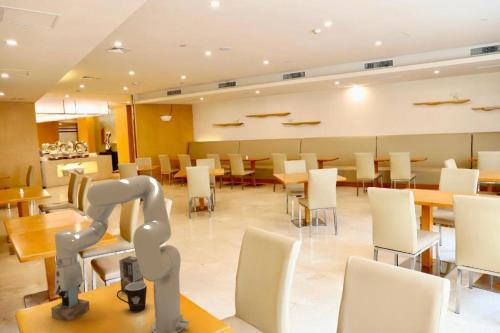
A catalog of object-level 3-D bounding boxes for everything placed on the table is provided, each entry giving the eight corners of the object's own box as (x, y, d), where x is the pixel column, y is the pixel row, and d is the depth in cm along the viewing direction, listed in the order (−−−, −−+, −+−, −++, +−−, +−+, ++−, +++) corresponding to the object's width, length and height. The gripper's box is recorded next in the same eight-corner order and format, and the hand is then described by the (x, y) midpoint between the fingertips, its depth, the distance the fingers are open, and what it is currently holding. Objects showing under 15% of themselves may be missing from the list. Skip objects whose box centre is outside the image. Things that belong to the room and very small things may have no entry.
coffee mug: (151, 304, 158) (150, 282, 157) (140, 314, 150) (139, 291, 149) (128, 302, 162) (127, 280, 161) (116, 311, 153) (114, 288, 152)
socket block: (89, 310, 155) (88, 301, 155) (69, 321, 146) (69, 312, 146) (72, 306, 159) (71, 297, 159) (51, 317, 150) (51, 307, 149)
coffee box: (144, 292, 171) (143, 258, 170) (134, 297, 166) (132, 263, 164) (131, 288, 176) (129, 255, 175) (120, 293, 171) (118, 259, 169)
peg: (78, 305, 153) (76, 282, 152) (70, 309, 150) (68, 286, 149) (71, 304, 155) (69, 281, 154) (63, 308, 151) (61, 285, 150)
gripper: (56, 268, 141) (59, 314, 143) (90, 254, 156) (92, 296, 158) (42, 266, 144) (46, 311, 146) (77, 253, 159) (80, 293, 161)
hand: (70, 302), depth 152 cm, fingers closed on peg, 3 cm apart
